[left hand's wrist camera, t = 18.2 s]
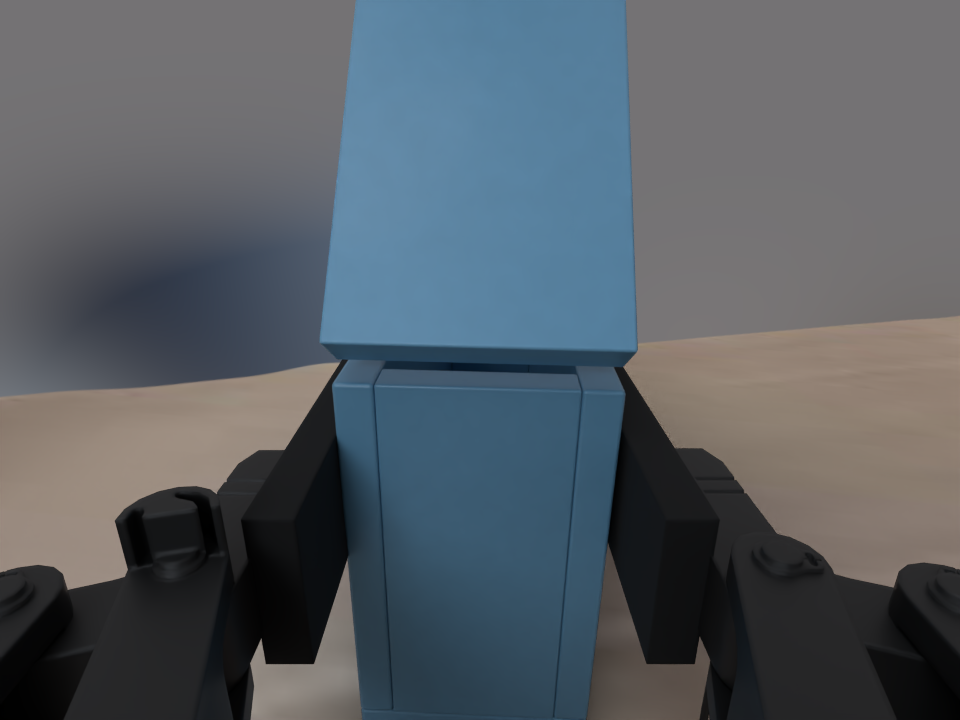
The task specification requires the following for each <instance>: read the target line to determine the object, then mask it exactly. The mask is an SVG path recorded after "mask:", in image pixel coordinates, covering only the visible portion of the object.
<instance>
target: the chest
mask: <svg viewBox="0 0 960 720" xmlns="http://www.w3.org/2000/svg"><path fill="white" fill-rule="evenodd" d="M332 391H333V402H334V413H335V425H336V436H337V446H338V457H339V467H340V478H341V489H342V499H343V510H344V519H345V529H346V538H347V548H348V568H349V579H350V590H351V601H352V612H353V623H354V634H355V645H356V656H357V667H358V678H359V689H360V701H361V707H362V709H361V710H362V720H586V717H587V711H588V703H589V695H590V686H591V678H592V670H593V661H594V653H595V645H596V636H597V628H598V620H599V612H600V603H601V595H602V587H603V578H604V570H605V562H606V553H607V545H608V537H609V528H610V520H611V512H612V504H613V495H614V487H615V479H616V470H617V462H618V454H619V445H620V437H621V429H622V420H623V412H624V404H625V396H626V394H625V391H624V389H623V387H622V384H621V382H620V380H619V378H618V376H617V373H616V371H615V369H614V367H598V366H562V365H526V364H490V363H454V362H418V361H382V360H348V361H347V363H346V364H345V366H344V367H343V369H342V370H341V372H340V373H339V375H338V376H337V378H336V379H335V381H334V382H333V384H332Z"/></svg>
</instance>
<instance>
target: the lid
mask: <svg viewBox="0 0 960 720" xmlns="http://www.w3.org/2000/svg"><path fill="white" fill-rule="evenodd" d="M320 344H321V345H322V346H323V347H324V348H325V349H327V350H328V351H329V352H330V353H331V354H332V355H333V356H334V357H335V358H336V359H346V360H382V361H418V362H454V363H490V364H526V365H562V366H598V367H623V366H624V365H625V364H626V363H627V362H628V361H629V360H630V359H631V358H632V357H633V356H634V355H635V354H636V352H637V350H638V344H637V315H636V286H635V256H634V228H633V198H632V169H631V139H630V110H629V82H628V52H627V23H626V0H356V5H355V14H354V23H353V33H352V42H351V51H350V61H349V70H348V79H347V89H346V98H345V107H344V117H343V126H342V136H341V145H340V154H339V163H338V173H337V182H336V192H335V201H334V210H333V219H332V229H331V238H330V248H329V257H328V266H327V276H326V285H325V294H324V304H323V313H322V322H321V332H320Z"/></svg>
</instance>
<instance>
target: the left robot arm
mask: <svg viewBox="0 0 960 720" xmlns="http://www.w3.org/2000/svg"><path fill="white" fill-rule="evenodd" d="M347 361H348V360H346V359H342V361H341V362H340V364H339V366H338V367H337V369H336V370H335V372H334V373H333V375H332V377H331V378H330V380H329V381H328V383H327V384H326V386H325V388H324V389H323V391H322V392H321V394H320V395H319V397H318V399H317V400H316V402H315V403H314V405H313V406H312V408H311V410H310V411H309V413H308V414H307V416H306V418H305V419H304V421H303V422H302V424H301V425H300V427H299V429H298V430H297V432H296V433H295V435H294V436H293V438H292V440H291V441H290V443H289V444H288V446H287V447H286V449H285V450H259V451H257V452H256V453H254V454H253V455H251V456H249V457H248V458H246V459H245V460H243V461H242V462H240V463H239V464H238V465H237V466H236V468H235V469H234V470H233V472H232V473H231V474H230V476H229V477H228V478H227V482H224V484H223V485H222V486H221V488H220V489H219V490H218V492H217V494H216V493H214V492H213V491H212V490H210V489H206V488H202V487H197V486H192V487H176V488H172V489H167V490H163V491H159V492H156V493H154V494H151V495H149V496H146V497H144V498H141V499H139V500H138V501H136V502H135V503H133V504H132V505H130V506H129V507H127V508H126V509H124V510H123V512H122V513H121V514H120V515H119V516H118V517H117V519H116V520H115V523H116V527H117V530H118V534H119V538H120V542H121V545H122V549H123V553H124V557H125V560H126V564H127V568H128V571H127V573H126V576H125V577H123V578H120V579H116V580H112V581H108V582H103V583H98V584H94V585H89V586H84V587H80V588H75V589H70V590H68V589H67V586H66V583H65V580H64V577H63V574H62V573H61V572H60V571H58V570H57V569H56V568H54V567H49V566H42V565H34V566H27V567H20V568H15V569H11V570H7V571H6V572H1V573H0V720H250V719H251V710H252V700H253V691H254V683H253V677H252V671H251V665H250V662H251V660H252V658H253V655H254V653H255V651H256V649H257V646H258V644H259V642H260V640H261V639H262V644H263V650H264V656H265V661H266V664H314V662H315V659H316V656H317V653H318V649H319V646H320V643H321V640H322V637H323V634H324V631H325V627H326V624H327V621H328V618H329V615H330V612H331V609H332V605H333V602H334V599H335V596H336V593H337V590H338V587H339V583H340V580H341V577H342V574H343V571H344V568H345V565H346V561H347V558H348V548H347V538H346V529H345V519H344V510H343V499H342V489H341V478H340V467H339V457H338V446H337V436H336V425H335V413H334V402H333V391H332V384H333V382H334V381H335V379H336V378H337V376H338V375H339V373H340V372H341V370H342V369H343V367H344V366H345V364H346V363H347ZM614 369H615V371H616V373H617V376H618V378H619V380H620V382H621V384H622V387H623V389H624V391H625V394H626V396H625V404H624V412H623V420H622V429H621V437H620V445H619V454H618V462H617V470H616V479H615V487H614V495H613V504H612V512H611V520H610V528H609V537H608V544H609V547H610V550H611V553H612V556H613V560H614V563H615V566H616V569H617V572H618V575H619V578H620V581H621V585H622V588H623V591H624V594H625V597H626V600H627V603H628V607H629V610H630V613H631V616H632V619H633V622H634V625H635V629H636V632H637V635H638V638H639V641H640V644H641V647H642V651H643V654H644V657H645V660H646V663H647V664H695V659H696V654H697V648H698V642H699V637H700V638H701V640H702V642H703V644H704V647H705V649H706V651H707V653H708V656H709V658H710V665H709V671H708V676H707V681H706V687H705V692H704V697H703V703H702V708H701V714H700V720H708V716H709V718H710V720H960V570H959V569H958V570H957V569H955V568H953V567H948V566H945V565H938V564H930V563H917V564H909V565H907V566H905V567H904V568H903V569H902V570H900V571H899V573H898V576H897V579H896V582H895V585H894V588H893V587H888V586H883V585H878V584H874V583H869V582H864V581H860V580H855V579H850V578H846V577H843V576H839V575H835V574H834V572H833V570H832V568H831V567H830V566H829V564H828V563H827V561H826V560H825V559H824V557H823V556H821V555H820V554H819V553H817V552H816V551H815V550H813V549H812V548H811V547H810V546H808V545H806V544H804V543H802V542H799V541H797V540H795V539H793V538H791V537H787V536H783V535H779V534H777V533H776V532H775V531H774V529H773V528H772V527H771V525H770V524H769V523H768V521H767V520H766V519H765V517H764V516H763V515H762V513H761V512H760V511H759V509H758V508H757V507H756V506H755V504H754V503H753V502H752V500H751V499H750V498H749V496H748V495H747V494H744V490H743V488H742V487H741V486H740V484H739V483H738V482H737V480H734V476H733V475H732V474H731V473H730V471H729V470H728V469H727V467H726V466H725V465H724V463H723V462H722V461H720V460H719V459H717V458H716V457H714V456H713V455H711V454H710V453H708V452H707V451H705V450H704V449H702V448H674V446H673V445H672V443H671V442H670V440H669V438H668V437H667V435H666V434H665V432H664V431H663V429H662V427H661V426H660V424H659V423H658V421H657V420H656V418H655V416H654V415H653V413H652V412H651V410H650V409H649V407H648V405H647V404H646V402H645V401H644V399H643V398H642V396H641V394H640V393H639V391H638V390H637V388H636V386H635V385H634V383H633V382H632V380H631V379H630V377H629V375H628V374H627V372H626V371H625V369H624V368H623V367H614Z"/></svg>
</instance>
